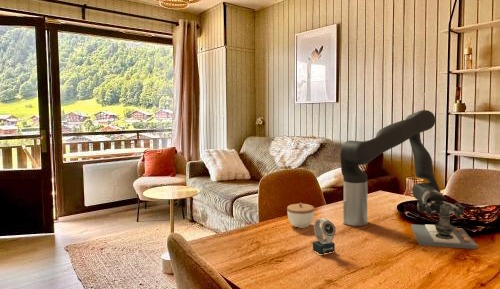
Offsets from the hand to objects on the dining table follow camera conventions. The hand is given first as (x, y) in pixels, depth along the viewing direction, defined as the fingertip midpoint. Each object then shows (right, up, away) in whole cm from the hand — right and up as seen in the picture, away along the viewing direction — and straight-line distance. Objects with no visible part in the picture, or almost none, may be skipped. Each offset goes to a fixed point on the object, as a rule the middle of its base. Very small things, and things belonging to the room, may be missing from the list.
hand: (444, 213), depth 120 cm
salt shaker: (0, -8, +1) cm, 8 cm away
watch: (-42, -12, -4) cm, 44 cm away
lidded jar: (-46, -9, +22) cm, 51 cm away
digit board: (+1, -9, +5) cm, 10 cm away
